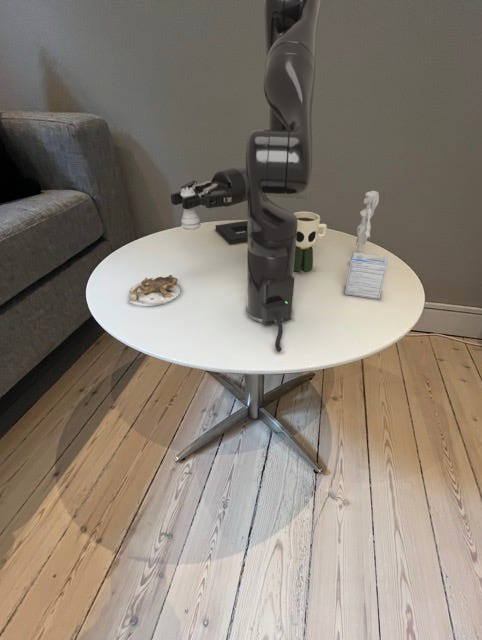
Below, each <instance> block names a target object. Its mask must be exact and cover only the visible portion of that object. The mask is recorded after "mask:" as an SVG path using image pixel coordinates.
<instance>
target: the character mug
mask: <svg viewBox="0 0 482 640" xmlns="http://www.w3.org/2000/svg"><path fill="white" fill-rule="evenodd" d="M292 213H293V214H294V215H295V216H296V218H297V221H298V227H297V237H296V248H295V259H294V270H293V272H300V273H301V271H302V269H303V272H305V273H306V272H309V271H311V270H313V267H314V248H313V247H314V246H316V244H317V243H318V239H321V238H325V237H326V236H327V229H328V226H327V224H326V223H321V216H320V215H319V214H317V213H315V212H311V211H295V212H292ZM320 229H322V230H321V231H322V232H321V233H319V232H320Z"/></svg>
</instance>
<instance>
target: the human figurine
mask: <svg viewBox="0 0 482 640" xmlns="http://www.w3.org/2000/svg"><path fill="white" fill-rule="evenodd" d="M379 202H380V195H379V191H376V190H371V191H367V192H365V197H364V198H363V205H365V208H364V209H362V210H361V211H360V212H359V215H360V217H361V218H360V224H358V226H357V228H356V242H355V245H357V247H356V253H364V248H363V245H364V246H365V245H366V243H367V241H368V240H369V238H371V230H372V226H371V218H372V217H373V216H374V213H375V211H376V208H377V206H378V204H380V203H379ZM350 263H351V261H350V262H349V264H350Z"/></svg>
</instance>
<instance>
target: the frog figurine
mask: <svg viewBox="0 0 482 640" xmlns="http://www.w3.org/2000/svg"><path fill="white" fill-rule="evenodd" d="M178 282H179V281H178V278H177V277H174V276H173V275H172V274H169V275H168V276H165V277H163V276H158V277H156V278H153V277H151V278H147V277H145V278H144V279H143V280H142V281H141V282H140V283H139V284H137V285H135V286H133V287H131V288H130V290H129V293H130V296H129V301H128V302H129V304H131V305H134V306H137V307H154V306H162V305H166V304H168V303H170V302H172V301H173V300H175V299H176V298H178V296H180V295H181V294H180V293H181V291H182V290H180V287H179V285H178Z"/></svg>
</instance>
